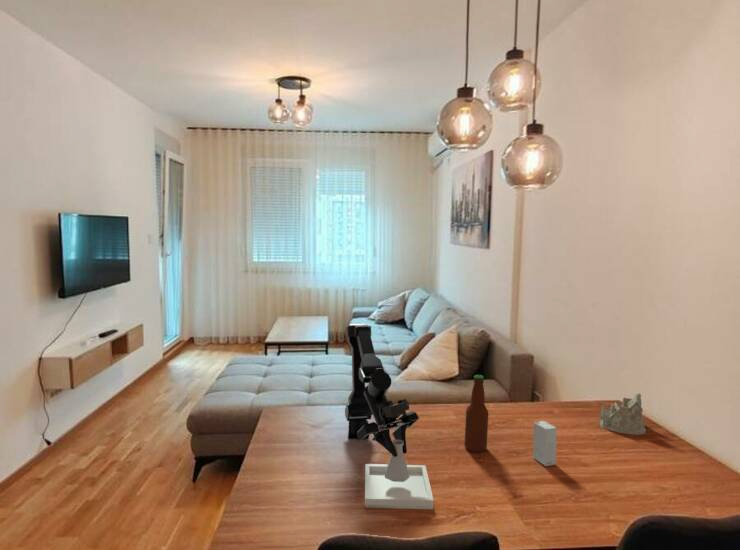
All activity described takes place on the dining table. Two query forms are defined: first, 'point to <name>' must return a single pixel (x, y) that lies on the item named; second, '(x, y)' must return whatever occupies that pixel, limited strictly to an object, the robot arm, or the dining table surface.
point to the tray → (397, 489)
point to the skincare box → (544, 443)
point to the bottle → (476, 418)
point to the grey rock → (624, 417)
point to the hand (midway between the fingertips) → (400, 454)
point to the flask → (397, 465)
